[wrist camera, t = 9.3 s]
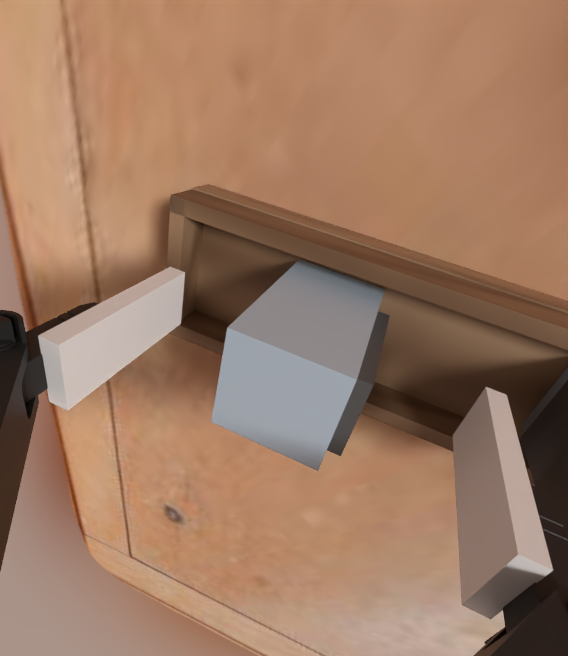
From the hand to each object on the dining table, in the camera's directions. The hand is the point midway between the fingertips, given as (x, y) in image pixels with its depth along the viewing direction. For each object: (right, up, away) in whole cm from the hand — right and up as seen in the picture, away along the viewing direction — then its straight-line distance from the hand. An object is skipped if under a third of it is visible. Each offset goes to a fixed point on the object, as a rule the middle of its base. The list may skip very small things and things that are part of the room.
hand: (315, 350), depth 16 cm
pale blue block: (+1, +2, +4) cm, 5 cm away
